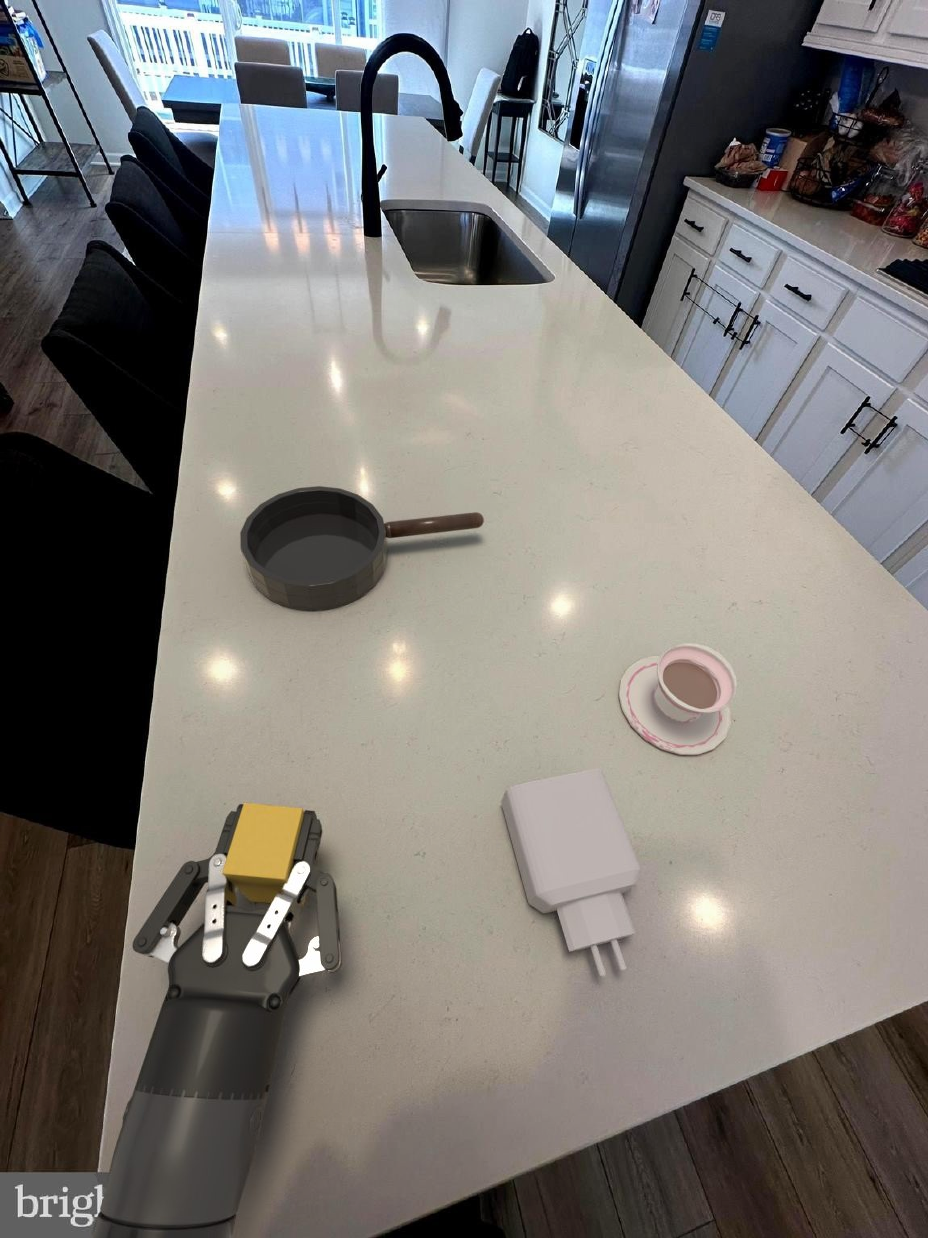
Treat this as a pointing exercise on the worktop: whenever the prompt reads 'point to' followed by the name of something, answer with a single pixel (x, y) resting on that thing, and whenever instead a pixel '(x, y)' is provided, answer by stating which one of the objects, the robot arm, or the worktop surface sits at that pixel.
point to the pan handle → (433, 525)
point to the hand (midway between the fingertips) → (279, 811)
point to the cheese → (263, 850)
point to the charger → (574, 857)
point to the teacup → (680, 698)
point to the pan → (314, 548)
